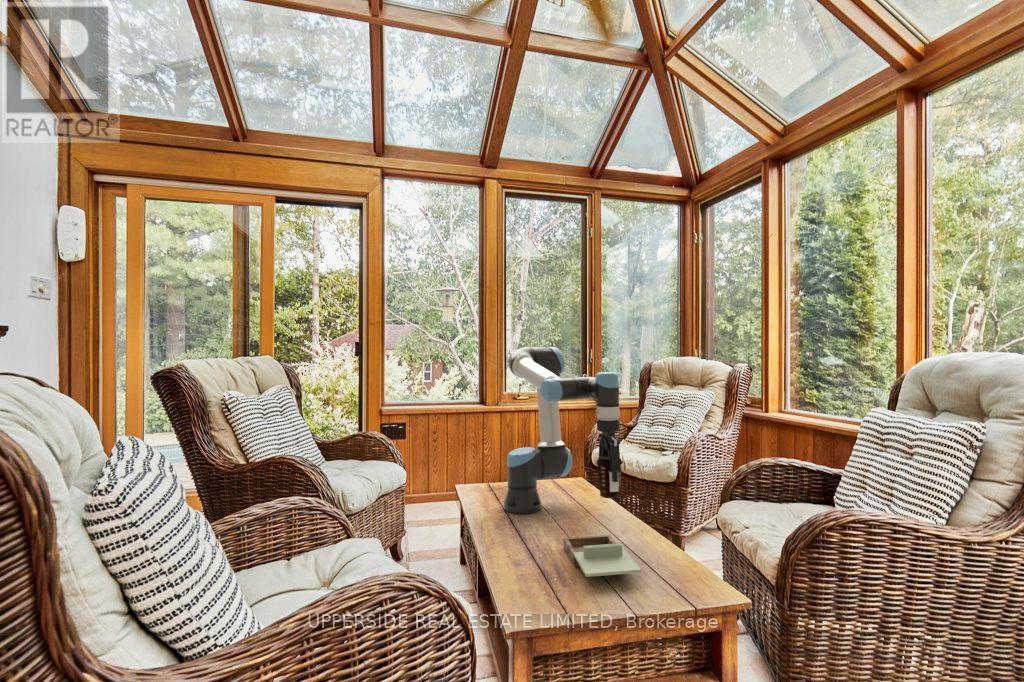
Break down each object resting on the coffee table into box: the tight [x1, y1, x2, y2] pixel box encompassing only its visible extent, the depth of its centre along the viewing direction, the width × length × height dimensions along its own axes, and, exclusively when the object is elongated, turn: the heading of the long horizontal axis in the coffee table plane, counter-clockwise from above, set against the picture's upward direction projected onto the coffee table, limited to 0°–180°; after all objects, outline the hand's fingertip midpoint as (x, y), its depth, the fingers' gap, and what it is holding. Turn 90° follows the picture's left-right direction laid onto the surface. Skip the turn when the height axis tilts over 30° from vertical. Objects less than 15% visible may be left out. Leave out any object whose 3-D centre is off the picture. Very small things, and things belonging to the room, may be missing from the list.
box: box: [563, 534, 617, 568], centre depth 154 cm, size 14×15×3 cm
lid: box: [574, 542, 642, 578], centre depth 140 cm, size 14×15×4 cm
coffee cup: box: [596, 455, 623, 499], centre depth 165 cm, size 9×8×13 cm
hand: (610, 487), depth 165 cm, fingers closed on coffee cup, 8 cm apart
